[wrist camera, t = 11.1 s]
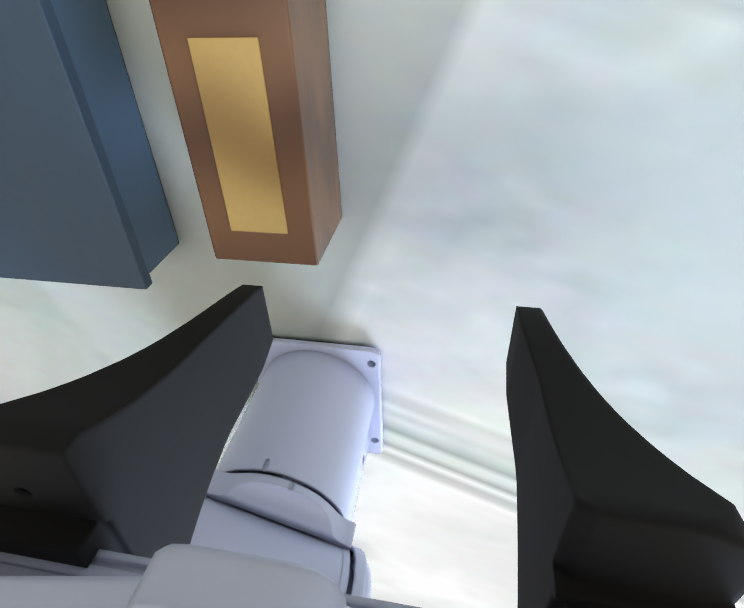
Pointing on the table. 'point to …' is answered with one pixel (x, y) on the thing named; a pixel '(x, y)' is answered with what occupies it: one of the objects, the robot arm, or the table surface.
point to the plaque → (257, 122)
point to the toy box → (74, 152)
